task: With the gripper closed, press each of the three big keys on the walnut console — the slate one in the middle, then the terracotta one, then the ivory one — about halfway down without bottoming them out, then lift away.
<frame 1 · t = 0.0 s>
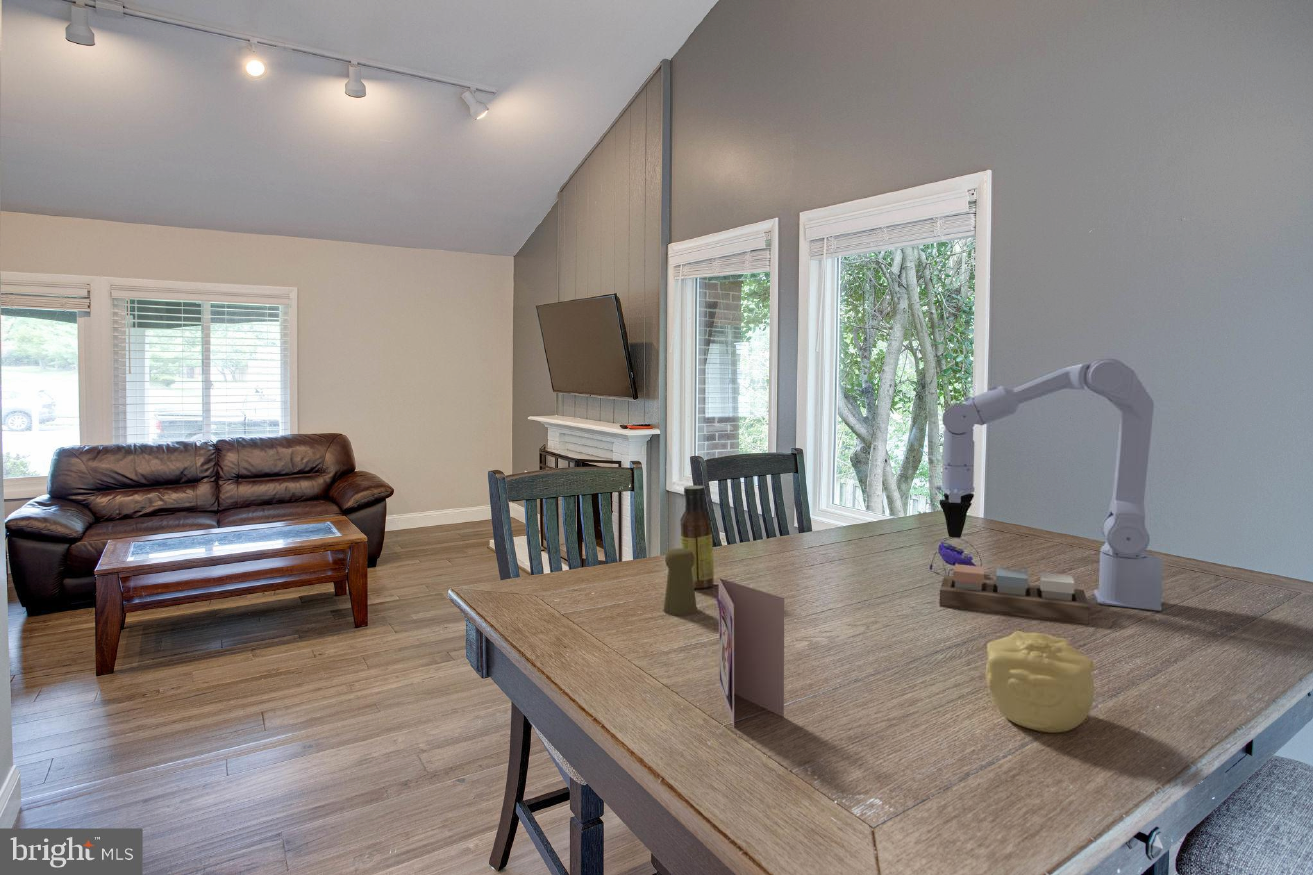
hand: (956, 533, 142), 10 cm above the table, tool pointing down, fingers open, 7 cm apart
slate key: (1011, 582, 129), point 4 cm above the table, slide at 0.0 cm
terracotta key: (968, 578, 132), point 4 cm above the table, slide at 0.0 cm
ivory key: (1056, 587, 126), point 4 cm above the table, slide at 0.0 cm
sauce bottle: (697, 586, 144), on the table
console: (1010, 606, 129), on the table
greeting card: (748, 706, 92), on the table
cork: (680, 611, 129), on the table
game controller: (951, 575, 150), on the table
sculpture: (1037, 721, 88), on the table
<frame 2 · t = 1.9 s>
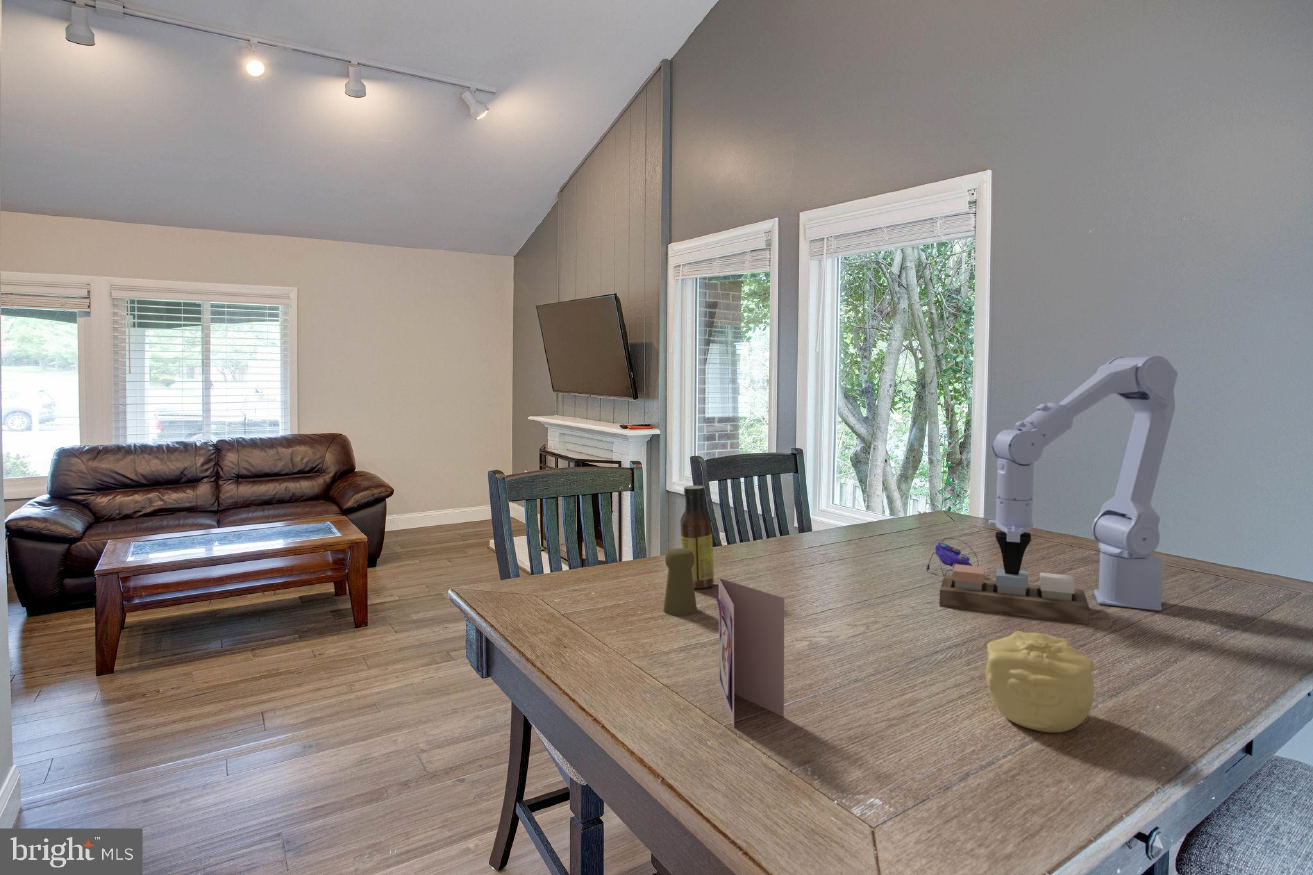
hand: (1011, 573, 129), 6 cm above the table, tool pointing down, fingers closed, pressing on slate key
slate key: (1011, 582, 129), point 4 cm above the table, slide at 0.0 cm, touching gripper
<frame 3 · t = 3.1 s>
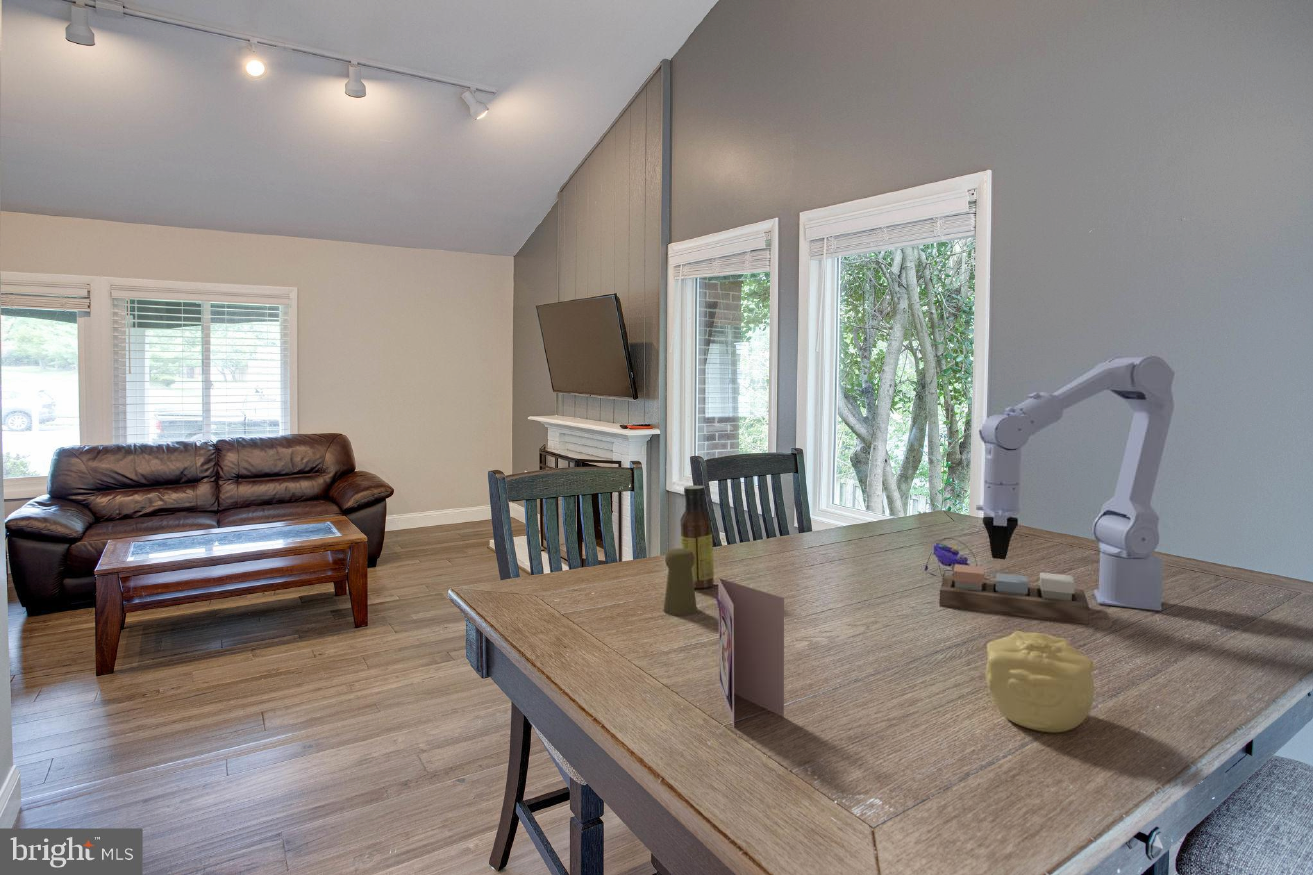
hand: (998, 558, 129), 9 cm above the table, tool pointing down, fingers closed
slate key: (1011, 587, 129), point 3 cm above the table, slide at 0.9 cm
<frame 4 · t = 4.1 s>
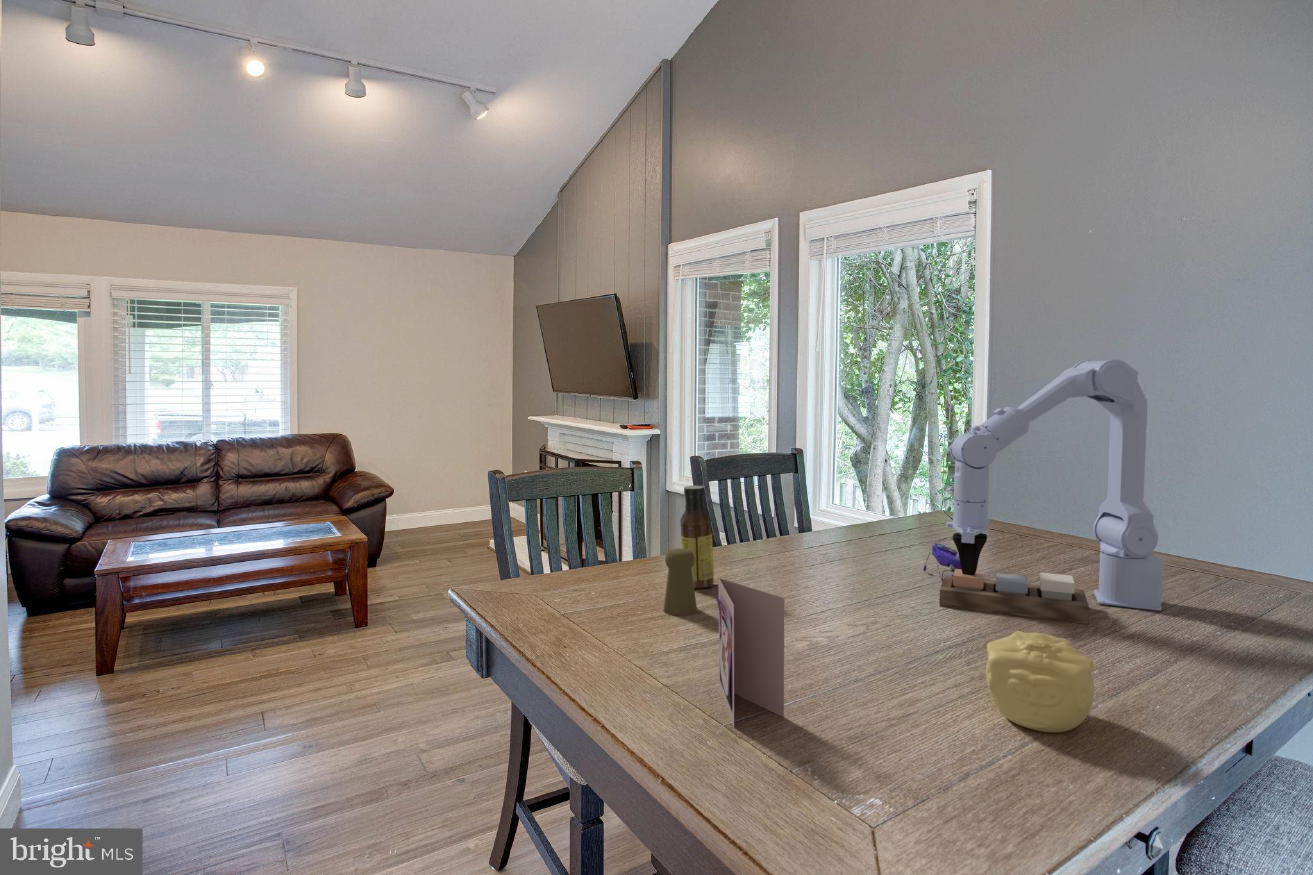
hand: (968, 573, 132), 5 cm above the table, tool pointing down, fingers closed, pressing on terracotta key
terracotta key: (968, 582, 132), point 3 cm above the table, slide at 0.9 cm, touching gripper
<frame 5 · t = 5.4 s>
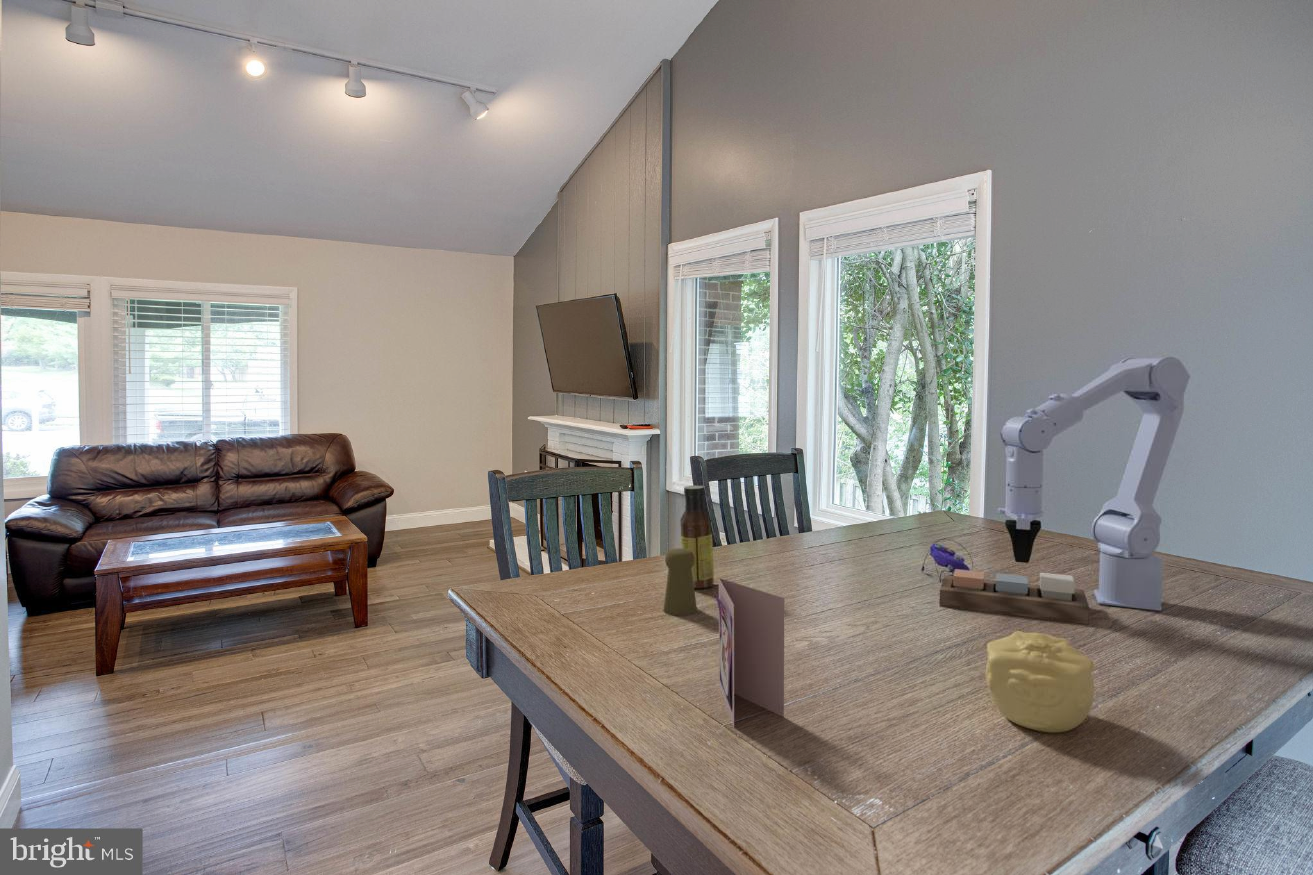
hand: (1021, 561, 128), 8 cm above the table, tool pointing down, fingers closed
terracotta key: (968, 583, 132), point 3 cm above the table, slide at 0.9 cm
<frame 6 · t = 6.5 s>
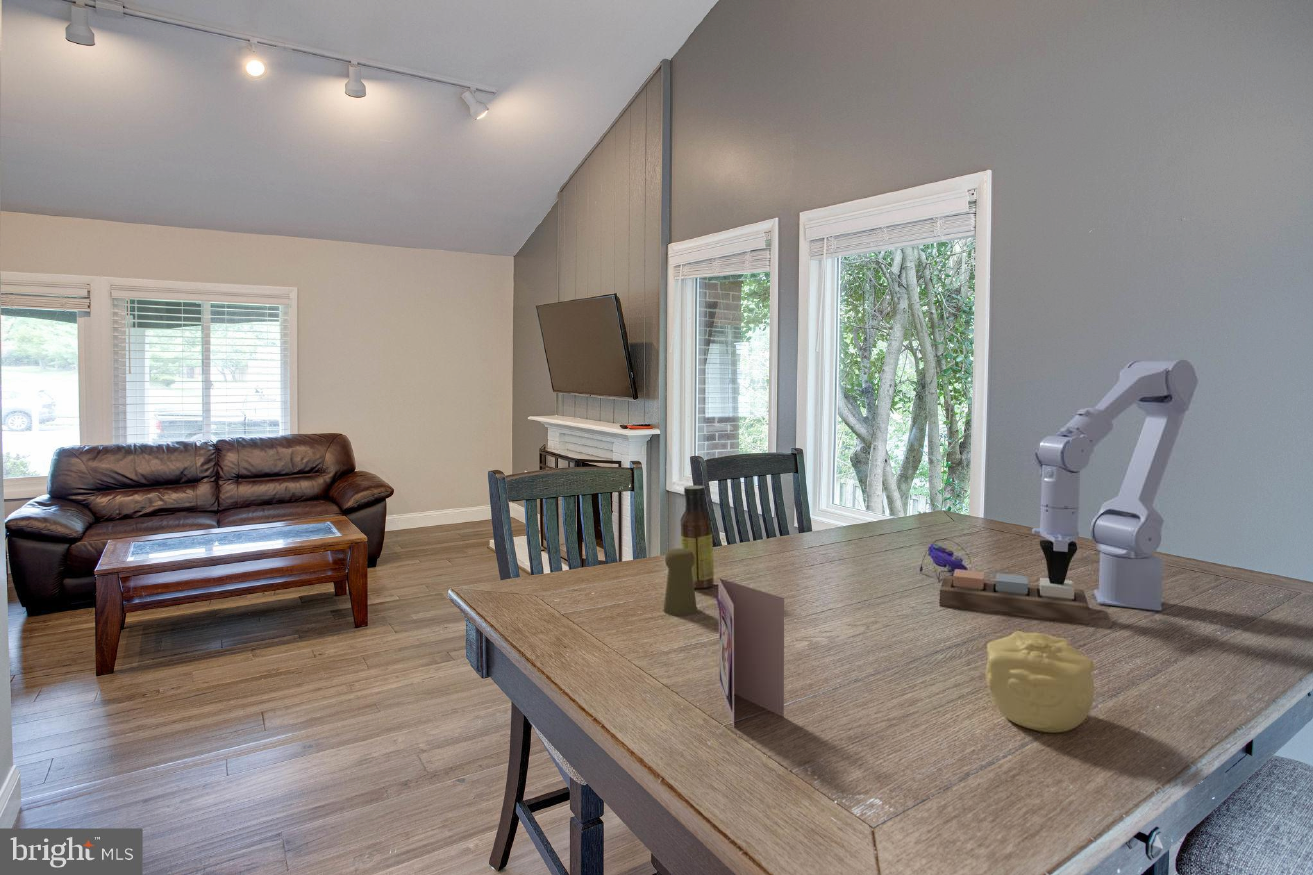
hand: (1056, 583, 126), 5 cm above the table, tool pointing down, fingers closed, pressing on ivory key
ivory key: (1056, 592, 126), point 3 cm above the table, slide at 0.9 cm, touching gripper
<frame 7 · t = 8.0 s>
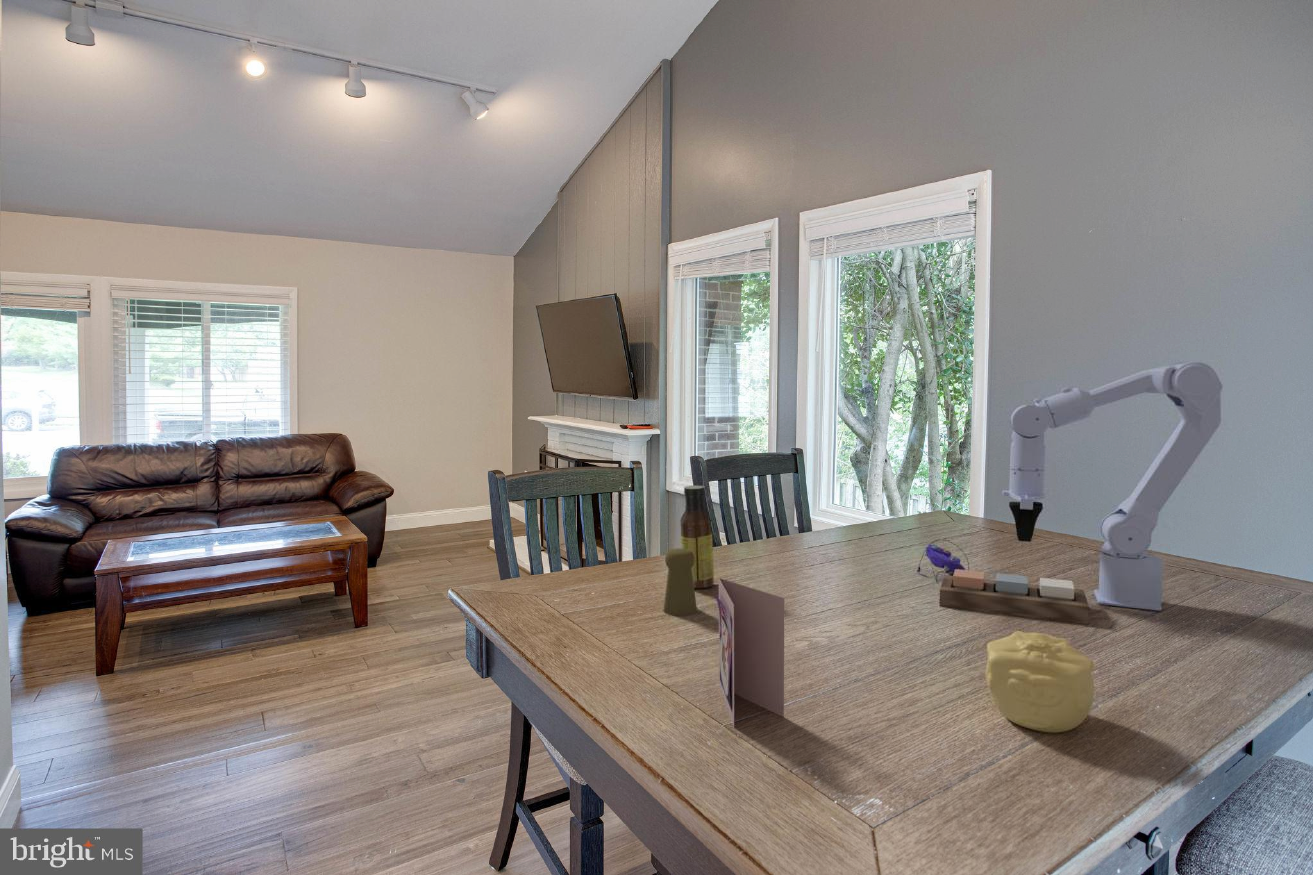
hand: (1024, 540, 136), 10 cm above the table, tool pointing down, fingers closed
ivory key: (1056, 592, 126), point 3 cm above the table, slide at 0.9 cm
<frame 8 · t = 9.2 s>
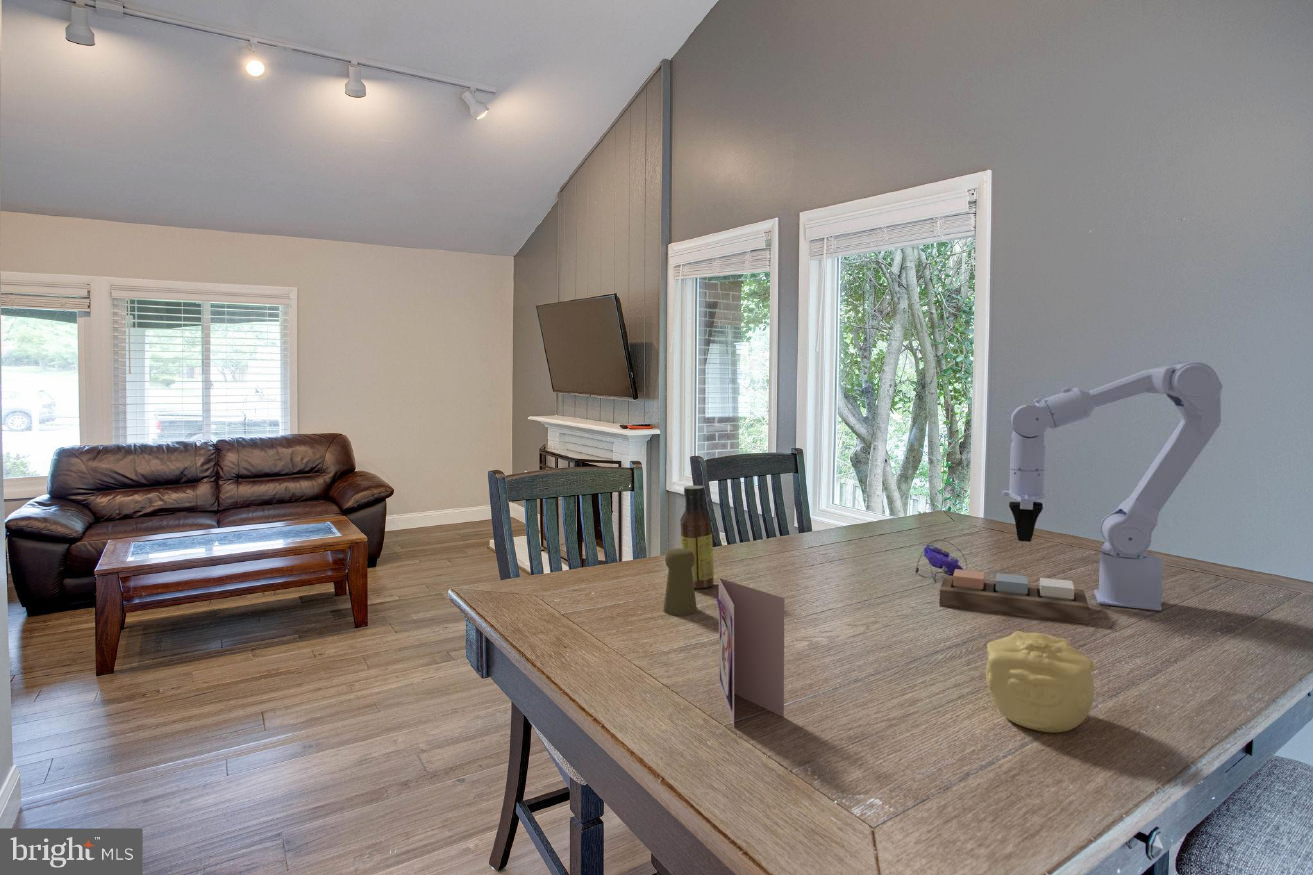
hand: (1024, 540, 136), 10 cm above the table, tool pointing down, fingers closed
at the end: slate key slide at 0.9 cm; terracotta key slide at 0.9 cm; ivory key slide at 0.9 cm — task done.
